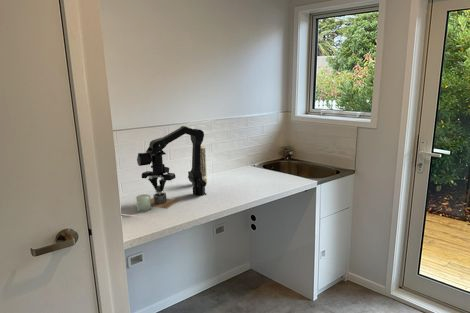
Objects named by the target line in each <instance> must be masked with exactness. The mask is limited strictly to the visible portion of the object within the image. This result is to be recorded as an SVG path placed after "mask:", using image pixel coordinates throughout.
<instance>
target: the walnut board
mask: <svg viewBox="0 0 470 313" xmlns="http://www.w3.org/2000/svg"><path fill="white" fill-rule="evenodd" d="M166 199H167V203H165V204H160V205H157V204H154V197H152V198H150V202H151V208H161V209H169V208H171V207H172V206H174V205H176V204H178V203H179V202H181V201H182V200H181V199H173V198H166Z"/></svg>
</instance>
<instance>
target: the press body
mask: <svg viewBox="0 0 470 313" xmlns="http://www.w3.org/2000/svg"><path fill="white" fill-rule="evenodd" d="M152 198H154V204H157V205H160V204H165V203H167V199H168V198H167V193H166V192H162V193H161V196H159V193H156V192H155V193H154V194H153V197H152Z"/></svg>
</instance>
